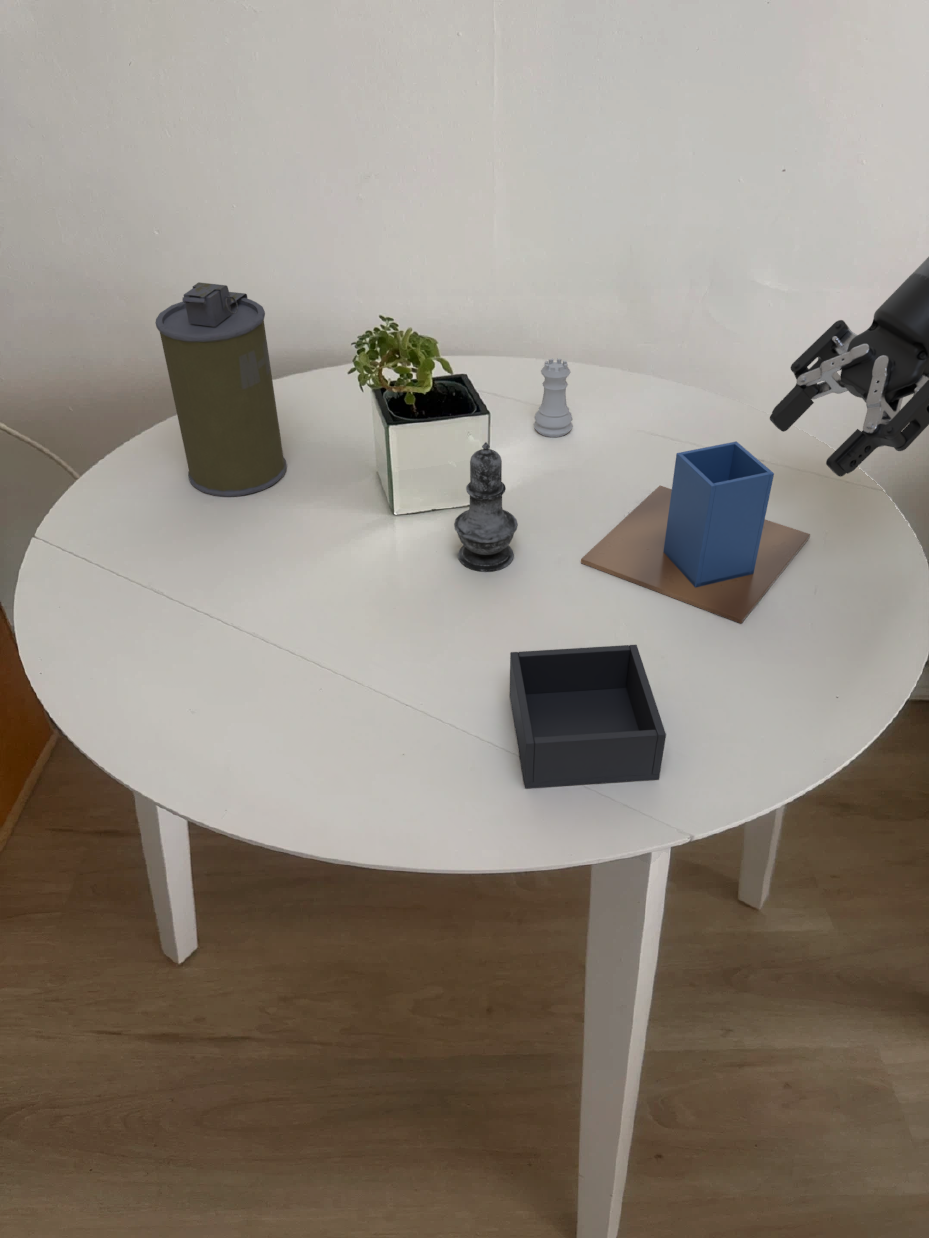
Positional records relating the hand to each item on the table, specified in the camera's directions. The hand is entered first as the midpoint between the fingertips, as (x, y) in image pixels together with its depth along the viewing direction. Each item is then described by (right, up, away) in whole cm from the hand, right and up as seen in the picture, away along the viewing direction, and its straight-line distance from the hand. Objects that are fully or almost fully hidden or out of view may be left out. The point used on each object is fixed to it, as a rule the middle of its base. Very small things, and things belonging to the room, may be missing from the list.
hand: (803, 447), depth 87 cm
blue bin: (-7, -10, +4) cm, 13 cm away
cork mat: (-8, -9, +7) cm, 14 cm away
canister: (-54, +1, +20) cm, 58 cm away
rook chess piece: (-20, +6, +26) cm, 34 cm away
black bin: (-21, -24, -12) cm, 34 cm away
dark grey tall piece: (-28, -9, +7) cm, 30 cm away
